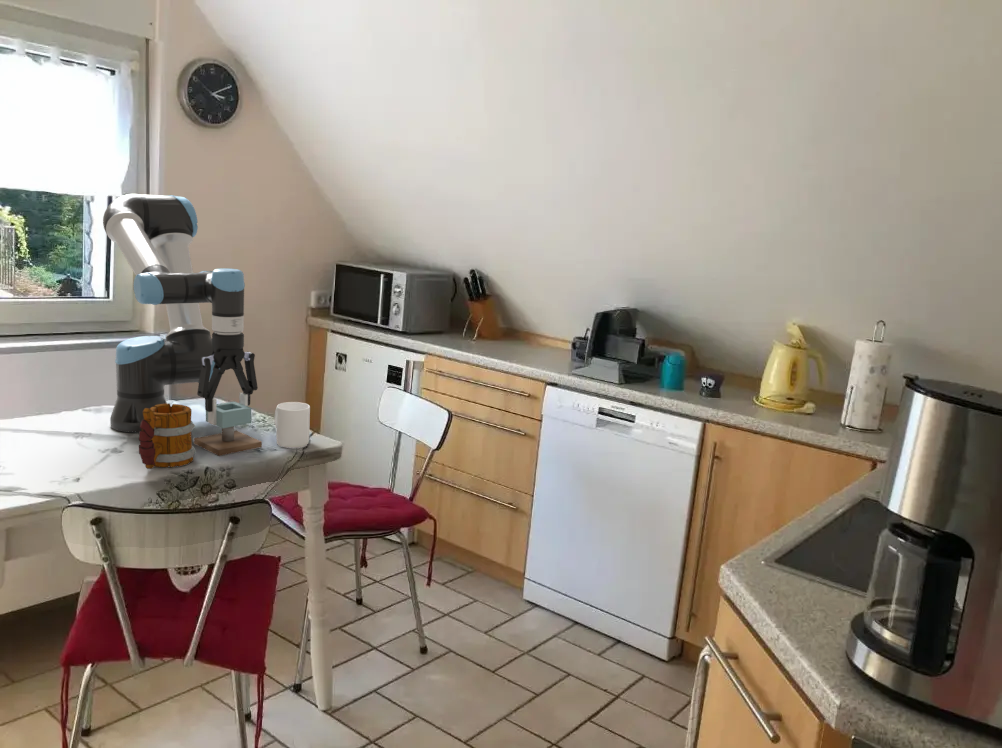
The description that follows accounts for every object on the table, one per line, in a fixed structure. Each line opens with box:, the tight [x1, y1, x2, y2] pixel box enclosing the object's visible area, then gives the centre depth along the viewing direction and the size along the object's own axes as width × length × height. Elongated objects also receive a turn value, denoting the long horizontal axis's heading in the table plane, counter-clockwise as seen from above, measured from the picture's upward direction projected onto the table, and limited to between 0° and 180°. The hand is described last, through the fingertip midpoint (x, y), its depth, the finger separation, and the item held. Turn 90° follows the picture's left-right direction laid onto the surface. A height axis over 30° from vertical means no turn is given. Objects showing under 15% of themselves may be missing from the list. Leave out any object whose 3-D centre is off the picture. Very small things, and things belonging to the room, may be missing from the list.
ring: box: [205, 401, 252, 429], centre depth 215 cm, size 8×8×4 cm
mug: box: [138, 402, 197, 470], centre depth 199 cm, size 11×16×15 cm, turn 167°
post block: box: [193, 426, 263, 457], centre depth 216 cm, size 12×12×9 cm
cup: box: [273, 401, 311, 449], centre depth 222 cm, size 8×12×10 cm
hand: (228, 420), depth 215 cm, fingers closed on ring, 8 cm apart
